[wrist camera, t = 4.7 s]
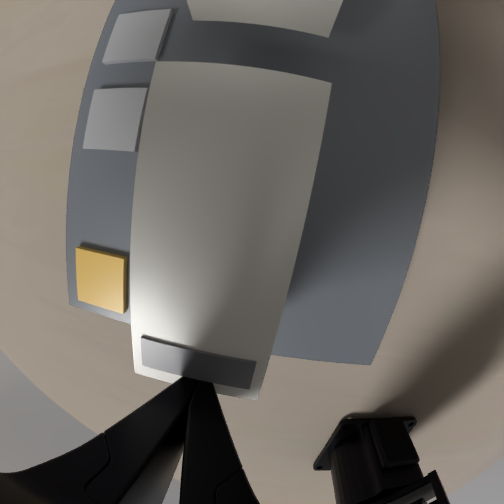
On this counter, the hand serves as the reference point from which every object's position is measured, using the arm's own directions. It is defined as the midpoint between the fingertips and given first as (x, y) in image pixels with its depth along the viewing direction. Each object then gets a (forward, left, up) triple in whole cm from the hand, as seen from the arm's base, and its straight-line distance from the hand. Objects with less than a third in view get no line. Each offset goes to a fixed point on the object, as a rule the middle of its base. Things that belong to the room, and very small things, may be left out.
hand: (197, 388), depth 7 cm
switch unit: (+9, 0, -7) cm, 11 cm away
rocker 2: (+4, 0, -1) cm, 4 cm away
